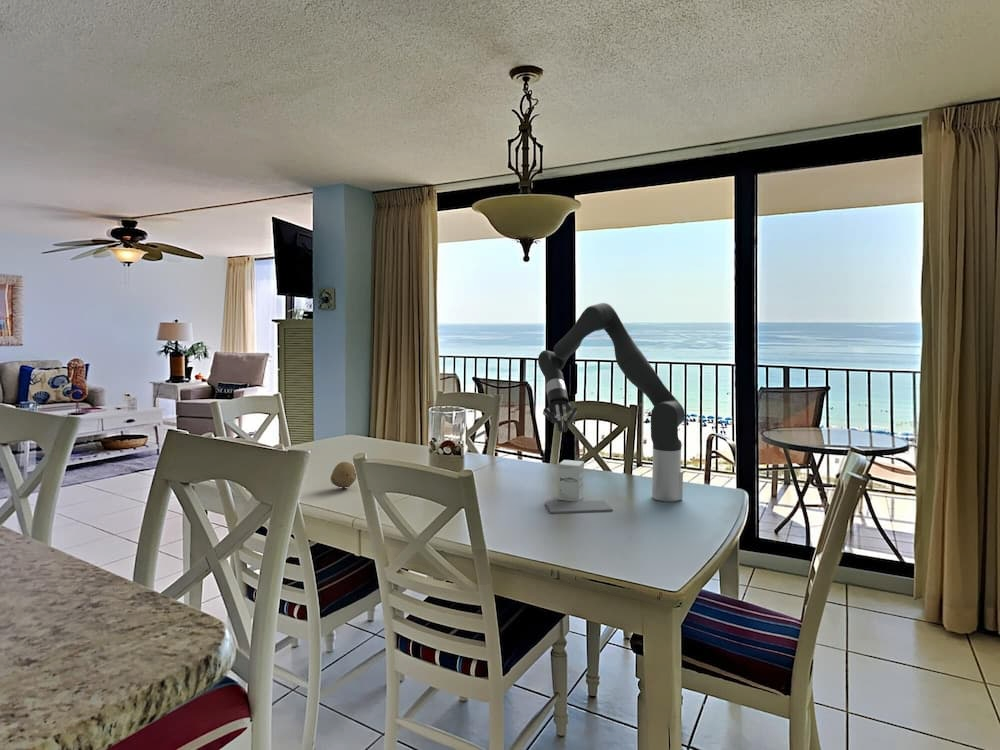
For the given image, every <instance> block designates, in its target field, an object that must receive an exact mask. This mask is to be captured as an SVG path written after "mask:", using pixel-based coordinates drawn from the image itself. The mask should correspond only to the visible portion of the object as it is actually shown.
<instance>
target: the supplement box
mask: <svg viewBox="0 0 1000 750" xmlns="http://www.w3.org/2000/svg"><path fill="white" fill-rule="evenodd" d="M584 474H585V461H583V460H581V461H580V460H571V459H563V460H562V461H560V462H559V464H558V492H557V494H558V497H557V498H558V501H565V502H567V501H582V499H583V497H584V491H585V490H584V488H585V484H584V483H585V481H584V480H585V479H584V478H585V477H584V476H585V475H584Z"/></svg>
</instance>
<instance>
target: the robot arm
mask: <svg viewBox="0 0 1000 750" xmlns="http://www.w3.org/2000/svg"><path fill="white" fill-rule="evenodd" d="M602 330H604V331H605V333H607V335H608V336H609V338H610V339H611V341H612V345H613V348H614V356H615V360H616V363H617V365H618V367H619V368H620V371H621V372H622V373H623V375H624V376H625V377H626V379H627V380H628V381H629V382H630V383H631V384H632V385H633V386H634V387H636V388H637V389H638V390H639V391H641V392H642V393H643V394H644V395H645V396H646V397H647V398H648V400H649V401H650V402H651V404H652V406H653V407H652V409H651V413H650V438H651V439H650V440H651V442H652V473H651V474H652V476H651V477H652V480H651V482H652V483H651V495H652V496H651V497H652V499H653V500H656V501H660V502H667V503H668V502H670V503H672V502H673V503H674V502H678V501H683V497H684V496H683V492H684V491H683V487H684V485H683V484H684V472H683V471H682V470H681V469H682V467H681V466H682V462H681V461H682V440H680V439H679V430H678V427H679V425H681V424H682V423H683V422H684V420H685V417H686V415H685V409H684V407H683V405H682V404H681V403H680V402H679V400H678V399H677V398H676V397H675V396H674V395H673V394H672V392H670V391H669V389H668V388H667V387H666V386H665V384H664V382H663V381H662V380H661V378H660V377H659V375H658V373H657V372H656V371H655V369H654V368H653V366H652V365H651V364H650V362H649V361H648V359H647V357H646V356H645V355H644V353H643V352H642V351H641V350H640V348H639V347H638V346H637V344H636V343H635V341H634V339H633V338H632V336H631V335H630V333H628V331H627V329H626V327H625V325H624V324H623V322H622V320H621V318H620V316H619V315H618V313H617V312H616V310H615V308H614V307H613V306H612V305H611V304H609V303H607V302H600V303H596V304H593V305H589V306H588V307H586V308H585V309H584V311H583V312H582V313H581V315H580V316H579V317H578V319H577V321H576V322H575V323H574V325H572V327H571V329H570V330H568V332H567V333H565V335H564V336H563V337H562V338H561V339H559V341H558V342H557V343H556V344H555V345H554V346H553V351H551V350H542V351H541V352H540V353H539V355H538V359H537V363H538V367H539V369H540V371H541V373H542V375H543V376H544V379H545V385H546V388H545V389H546V396H547V402H548V406H547V408H545V407H544V408H543V411H542V414H543V416H544V417H545V418H547V420H548V421H550V423H552V424H556V427H557V431H558V432H559V433H563V432H564V433H567V432H568V430H569V424H571V423H572V421H573V419H574V417H575V416H576V415H577V413H578V407H572V406H571V404H570V403H569V402H570V400H569V397H568V396H569V395H568V391H567V386H566V384H565V378H564V373H563V372H562V370H563V369H564V368H565V367H564V366H565V364H566V363H567V361H568V359H569V358H570V356H572V355H573V354H574V353H575V352H576V351H577V350H578V349H579V348H580V347H581V344H582V342H583V340H584V339H585V338H586V337H587V336H589V335H590V334H593V333H594V332H598V331H602ZM569 411H570V415H569V416H567V415H568V414H569Z"/></svg>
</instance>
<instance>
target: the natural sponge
mask: <svg viewBox="0 0 1000 750" xmlns="http://www.w3.org/2000/svg"><path fill="white" fill-rule="evenodd" d="M354 467H355V465H353V464H352V463H351V462H347V461H342V462H339V463H338V464H336V466H335V467H334V468H333V470H332V473H331V475H330V482H331V484H333V486H335V487H338V488H339V487H342V488H345V487H348V488H349V487H350V486H352V484H353V483H355V482H356V480H357V477H356V473H355V469H356V468H355V469H354Z"/></svg>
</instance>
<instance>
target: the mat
mask: <svg viewBox="0 0 1000 750" xmlns="http://www.w3.org/2000/svg"><path fill="white" fill-rule="evenodd" d="M544 504H545V506H546V508H547V510H548V512H549V513H550V514H552V515H553V514H570V513H571V514H573V513H575V514H576V513H596V512H598V513H599V512H601V513H602V512H613V511H614V509H613V508H612V507H611V506H610V504H608V502H607V501H606V500H604V499H599V500H598V499H596V500H580V501H546V502H544Z"/></svg>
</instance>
